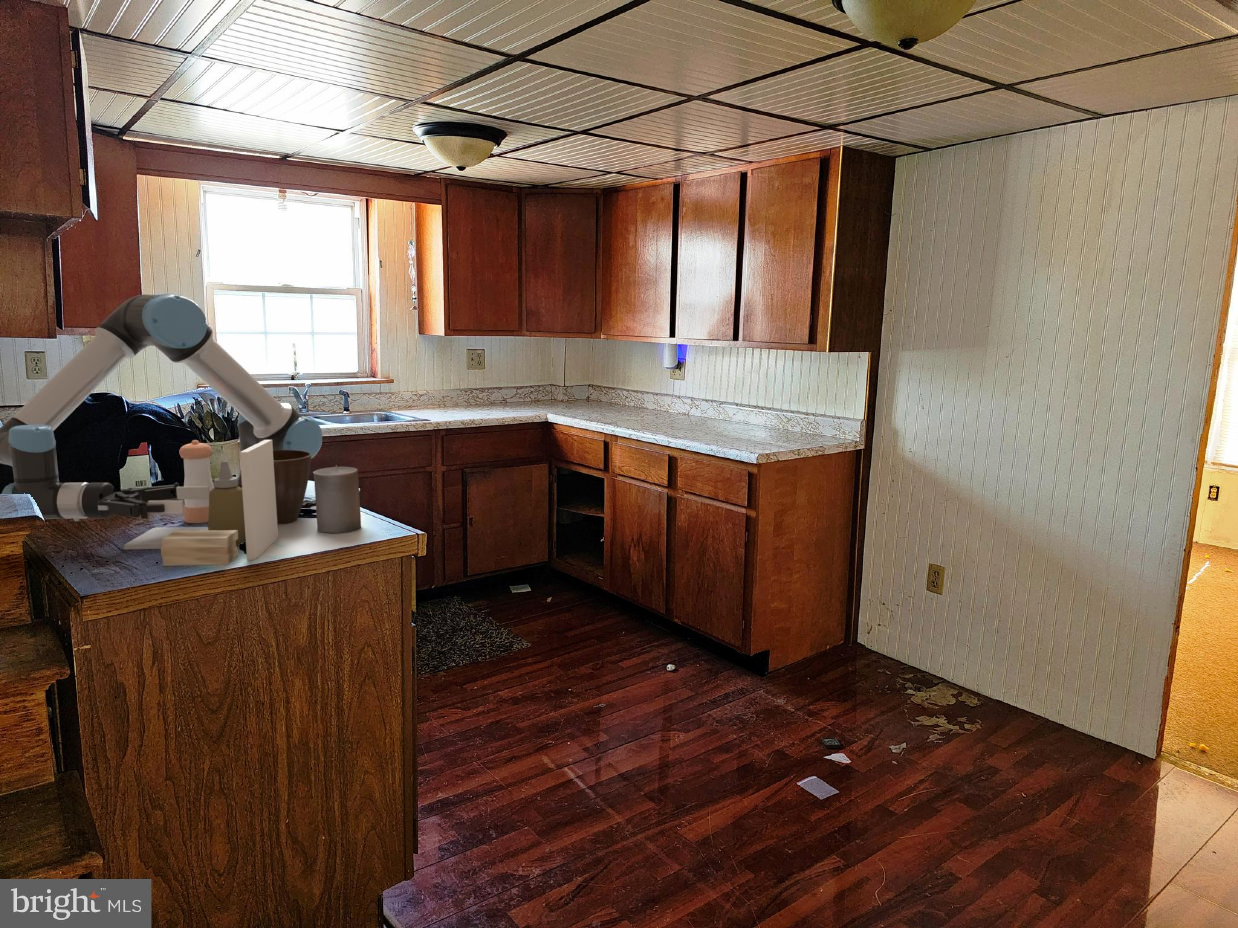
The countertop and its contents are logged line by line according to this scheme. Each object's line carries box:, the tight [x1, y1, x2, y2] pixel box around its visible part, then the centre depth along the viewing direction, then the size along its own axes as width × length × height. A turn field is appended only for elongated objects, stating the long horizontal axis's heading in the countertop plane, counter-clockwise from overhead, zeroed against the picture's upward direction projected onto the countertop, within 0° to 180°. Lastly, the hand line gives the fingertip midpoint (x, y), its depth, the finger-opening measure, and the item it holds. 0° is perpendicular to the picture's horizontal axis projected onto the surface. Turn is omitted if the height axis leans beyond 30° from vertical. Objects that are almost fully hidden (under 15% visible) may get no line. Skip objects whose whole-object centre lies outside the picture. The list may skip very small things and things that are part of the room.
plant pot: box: [273, 450, 312, 525], centre depth 193 cm, size 15×15×16 cm
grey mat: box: [124, 526, 208, 550], centre depth 177 cm, size 14×14×1 cm
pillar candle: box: [312, 464, 362, 534], centre depth 187 cm, size 10×10×15 cm
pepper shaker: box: [178, 439, 215, 524], centre depth 193 cm, size 7×7×19 cm
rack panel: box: [239, 440, 279, 561], centre depth 170 cm, size 16×2×22 cm, turn 7°
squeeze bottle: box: [207, 460, 246, 547], centre depth 173 cm, size 8×8×18 cm
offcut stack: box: [160, 530, 239, 567], centre depth 162 cm, size 7×13×5 cm, turn 97°
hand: (196, 499), depth 172 cm, fingers open, 13 cm apart
